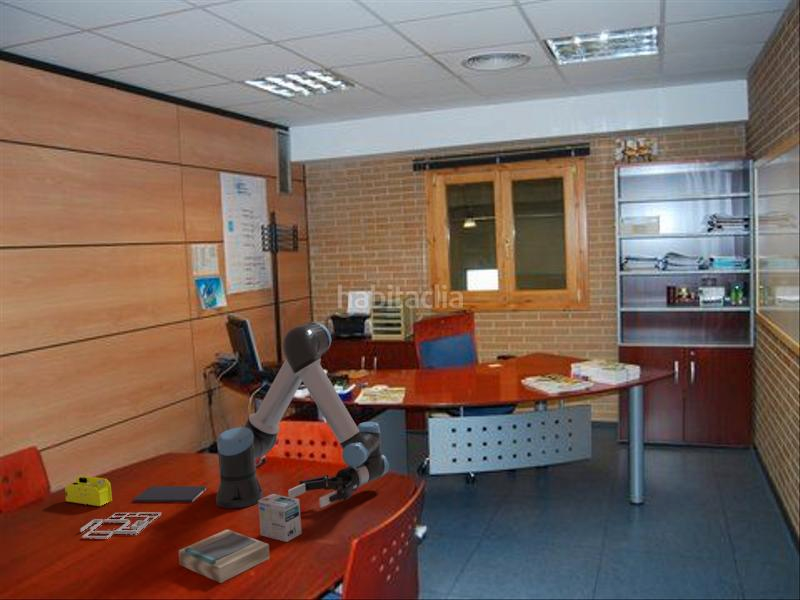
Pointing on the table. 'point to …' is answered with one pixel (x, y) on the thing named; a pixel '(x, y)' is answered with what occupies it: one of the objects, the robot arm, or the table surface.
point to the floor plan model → (119, 531)
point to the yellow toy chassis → (89, 491)
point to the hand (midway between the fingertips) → (304, 498)
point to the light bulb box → (279, 517)
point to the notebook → (170, 494)
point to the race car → (260, 461)
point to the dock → (224, 555)
